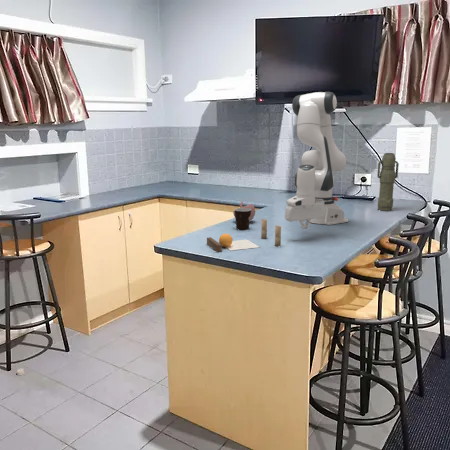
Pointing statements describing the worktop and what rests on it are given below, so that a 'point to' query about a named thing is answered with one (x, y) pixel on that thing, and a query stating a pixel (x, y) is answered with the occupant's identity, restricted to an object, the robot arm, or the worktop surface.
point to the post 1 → (264, 229)
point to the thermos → (387, 181)
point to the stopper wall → (214, 244)
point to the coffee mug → (242, 218)
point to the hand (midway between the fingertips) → (305, 228)
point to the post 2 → (277, 235)
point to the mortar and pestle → (248, 208)
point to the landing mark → (241, 245)
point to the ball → (225, 240)
